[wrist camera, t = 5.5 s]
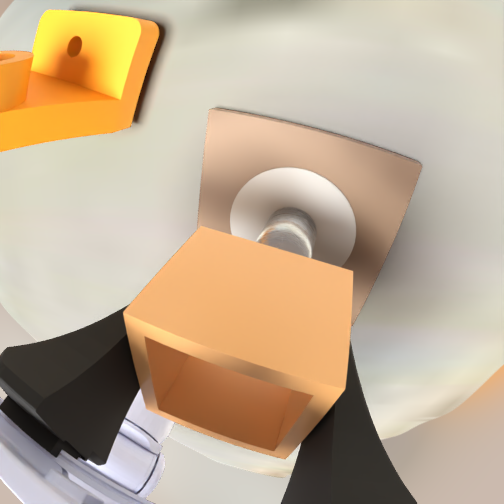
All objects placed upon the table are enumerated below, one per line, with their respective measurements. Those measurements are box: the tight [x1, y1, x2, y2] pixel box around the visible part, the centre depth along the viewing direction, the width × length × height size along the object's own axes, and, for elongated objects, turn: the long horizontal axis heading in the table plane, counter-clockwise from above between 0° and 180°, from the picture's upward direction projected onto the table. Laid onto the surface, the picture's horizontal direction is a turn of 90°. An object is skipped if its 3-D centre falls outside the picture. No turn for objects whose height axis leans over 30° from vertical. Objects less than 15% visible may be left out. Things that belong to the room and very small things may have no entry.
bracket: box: [0, 10, 159, 152], centre depth 11 cm, size 11×7×12 cm
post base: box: [197, 108, 422, 326], centre depth 18 cm, size 12×12×1 cm
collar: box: [123, 226, 353, 459], centre depth 10 cm, size 6×6×5 cm
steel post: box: [256, 207, 317, 258], centre depth 17 cm, size 3×3×5 cm
